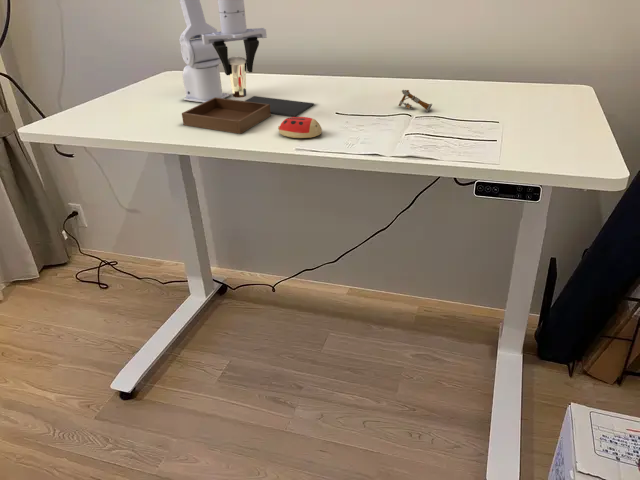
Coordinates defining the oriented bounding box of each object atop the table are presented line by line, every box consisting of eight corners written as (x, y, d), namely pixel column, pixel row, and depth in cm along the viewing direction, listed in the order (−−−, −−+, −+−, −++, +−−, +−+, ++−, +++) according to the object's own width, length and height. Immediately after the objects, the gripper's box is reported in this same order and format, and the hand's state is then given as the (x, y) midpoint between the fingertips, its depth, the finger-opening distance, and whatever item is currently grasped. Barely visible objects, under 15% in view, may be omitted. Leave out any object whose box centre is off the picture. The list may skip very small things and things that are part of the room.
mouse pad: (232, 108, 142) (232, 107, 142) (254, 97, 150) (254, 96, 150) (294, 116, 135) (294, 115, 135) (314, 104, 142) (313, 103, 142)
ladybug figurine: (319, 140, 121) (319, 124, 119) (275, 139, 122) (273, 123, 121) (324, 129, 127) (323, 114, 125) (281, 128, 128) (280, 113, 126)
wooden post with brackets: (397, 102, 139) (404, 86, 136) (424, 118, 137) (433, 103, 134) (394, 104, 137) (402, 88, 134) (422, 121, 136) (430, 105, 133)
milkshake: (248, 99, 132) (245, 55, 127) (227, 98, 133) (223, 54, 128) (254, 93, 136) (251, 51, 131) (233, 92, 137) (229, 50, 132)
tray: (183, 125, 133) (181, 113, 131) (216, 108, 143) (214, 97, 141) (240, 133, 126) (239, 121, 125) (270, 115, 136) (269, 104, 135)
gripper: (203, 17, 119) (211, 81, 126) (268, 10, 124) (273, 72, 131) (196, 12, 125) (205, 73, 132) (259, 6, 129) (264, 66, 136)
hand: (238, 72), depth 132 cm, fingers closed on milkshake, 5 cm apart
